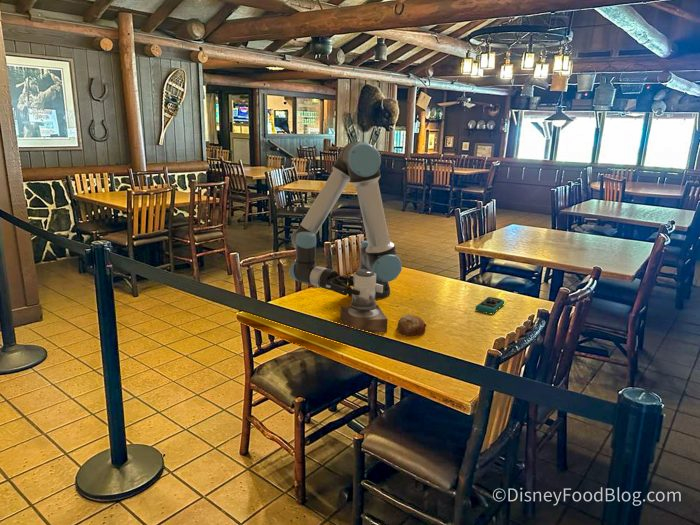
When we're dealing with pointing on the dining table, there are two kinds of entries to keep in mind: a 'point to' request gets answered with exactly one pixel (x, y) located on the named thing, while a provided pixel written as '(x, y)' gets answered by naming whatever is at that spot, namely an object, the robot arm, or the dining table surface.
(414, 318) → the bread roll
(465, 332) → the dining table surface
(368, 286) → the cylinder
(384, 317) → the stand
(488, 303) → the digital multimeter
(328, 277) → the robot arm
